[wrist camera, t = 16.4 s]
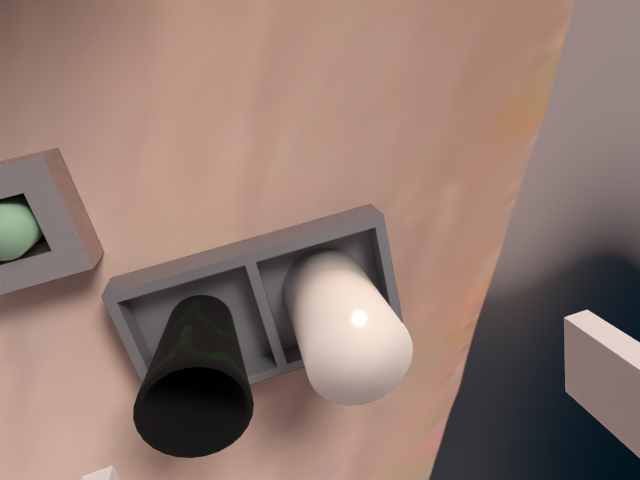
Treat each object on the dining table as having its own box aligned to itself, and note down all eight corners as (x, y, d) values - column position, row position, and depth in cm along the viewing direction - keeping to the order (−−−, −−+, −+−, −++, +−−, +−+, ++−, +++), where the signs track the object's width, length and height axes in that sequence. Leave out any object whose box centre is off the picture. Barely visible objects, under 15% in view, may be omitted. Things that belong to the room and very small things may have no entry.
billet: (273, 261, 40) (294, 330, 29) (354, 237, 41) (403, 296, 30) (294, 332, 43) (320, 419, 32) (369, 308, 44) (419, 385, 33)
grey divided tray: (110, 278, 39) (101, 296, 36) (370, 204, 42) (383, 214, 38) (160, 390, 44) (156, 414, 40) (392, 316, 46) (405, 334, 43)
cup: (215, 371, 43) (214, 473, 32) (140, 337, 40) (110, 435, 29) (260, 308, 42) (275, 390, 31) (185, 268, 39) (173, 343, 28)
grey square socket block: (-66, 178, 34) (-96, 189, 31) (58, 147, 35) (41, 154, 32) (-7, 283, 37) (-29, 302, 34) (104, 252, 38) (93, 268, 35)
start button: (-18, 204, 34) (-43, 218, 31) (34, 191, 35) (15, 203, 31) (6, 249, 36) (-16, 267, 32) (55, 236, 36) (39, 252, 33)
